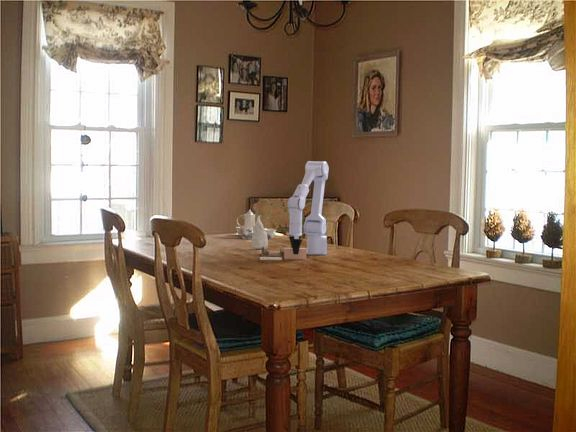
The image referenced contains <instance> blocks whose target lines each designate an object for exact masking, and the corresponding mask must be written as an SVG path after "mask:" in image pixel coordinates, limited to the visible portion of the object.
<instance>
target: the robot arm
mask: <svg viewBox="0 0 576 432" xmlns="http://www.w3.org/2000/svg"><path fill="white" fill-rule="evenodd" d="M329 168H330V167H329V164H328V162H327V161H313V160H312V161H311V160H308V161H307V162H306V163H305V167H304V171H305V172H304V177H303V179H302V181H301V183H299V184H298V185H297V186H296V189H295V190H294V193H293V194H292V196H291V197H289V198H288V199H287V202H286V206H287V209H288V214H289V221H288V222H289V226H288V227H289V228H288V229H289V230H288V232H286V235H288V239H289V242H290V246H291V247H290V248H292V249H293V254H298V253H299V248H301V243H302V242H303V238H301V237H302V235H303V232H304V233H305V235H306V236H307V237H306V240H307V242H306V255H328V254H327V251H328V247H327V246H328V245H327V244H328V239H327V238H328V237H327V235H325V234H326V232H327V219H326V218H325V217H324V216H323V215H322V214H323V213H322V212H323V205H324V203H323V202H324V195H325V186H326V181H327V180H328V177H329V171H330V170H329ZM312 182H313V183H314V185H313V192H312V199H311V210H310V214H309V215H307V216H306V217H305V221H304V224H303V210H304V208H305V206H306V202H307V201H306V198H307V197H308V194H309V192H310V189H309V187H310V185H311V183H312Z"/></svg>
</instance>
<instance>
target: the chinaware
mask: <svg viewBox="0 0 576 432" xmlns="http://www.w3.org/2000/svg"><path fill="white" fill-rule="evenodd" d="M240 217H242V219H243V220H244V223H243V225H241V224H240V223H239V218H240ZM261 217H262V215H261V214H259V215H257V217H256V214H254V212H253V211H252V210H251V209H249V210H248V211H246V213H244V214H241V215H238V216H237V217H236V220H235V221H236V224H237V226H235V228H234V229H233V233H234V234H238V235H237V236H240V237H241V239H242V240H252V235H253V231H254V226H255V224H256V221H257V220H258V219H259V220H260V221H261ZM255 218H256V219H257V220H255ZM264 229H265V230H266V233H267V238H268V239H269V240H272V239H273V238H274V237H276V232H277V231H278V229H277V228H276V229H275V228H267V227H266V228H265V227H264ZM235 230H236V232H235Z"/></svg>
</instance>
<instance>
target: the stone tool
mask: <svg viewBox="0 0 576 432" xmlns="http://www.w3.org/2000/svg"><path fill="white" fill-rule="evenodd" d="M264 228H265V227H264V224H263V223H262V221H261V219H260V220H259V219H258V220H255V226H254V231H253V235H252V239H251V242H250V243H251V245H250V246H251V249H253V250H262V247H264V250H265V249H268V246H269V241H268V238H267V233H266V230H265V229H264Z"/></svg>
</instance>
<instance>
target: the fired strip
mask: <svg viewBox="0 0 576 432" xmlns="http://www.w3.org/2000/svg"><path fill="white" fill-rule="evenodd" d="M259 260H260V261H261V260H262V261H264V260H265V261H282V260H283V257H262V256H259Z"/></svg>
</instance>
